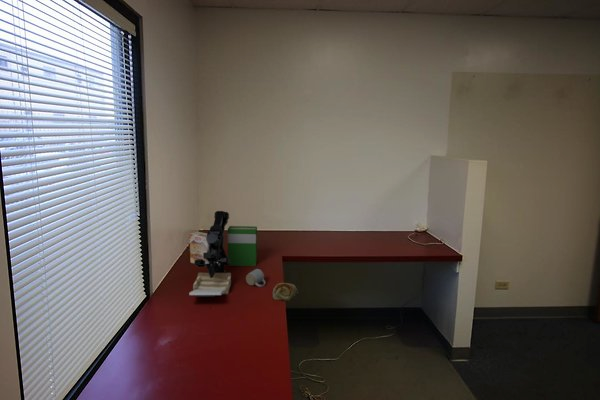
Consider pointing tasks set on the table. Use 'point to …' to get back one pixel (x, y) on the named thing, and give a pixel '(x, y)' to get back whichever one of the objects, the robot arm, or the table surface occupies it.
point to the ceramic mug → (255, 278)
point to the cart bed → (213, 282)
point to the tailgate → (206, 292)
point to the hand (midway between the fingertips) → (211, 277)
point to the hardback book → (242, 245)
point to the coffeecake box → (198, 246)
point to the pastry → (284, 291)
